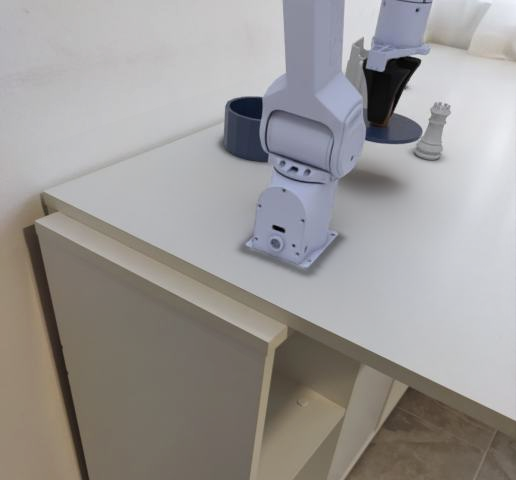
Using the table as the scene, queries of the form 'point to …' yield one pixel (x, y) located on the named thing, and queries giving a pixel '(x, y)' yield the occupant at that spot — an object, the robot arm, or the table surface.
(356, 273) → the table surface
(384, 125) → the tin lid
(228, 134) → the tin
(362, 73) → the cable organizer
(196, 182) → the table surface
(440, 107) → the rook chess piece
